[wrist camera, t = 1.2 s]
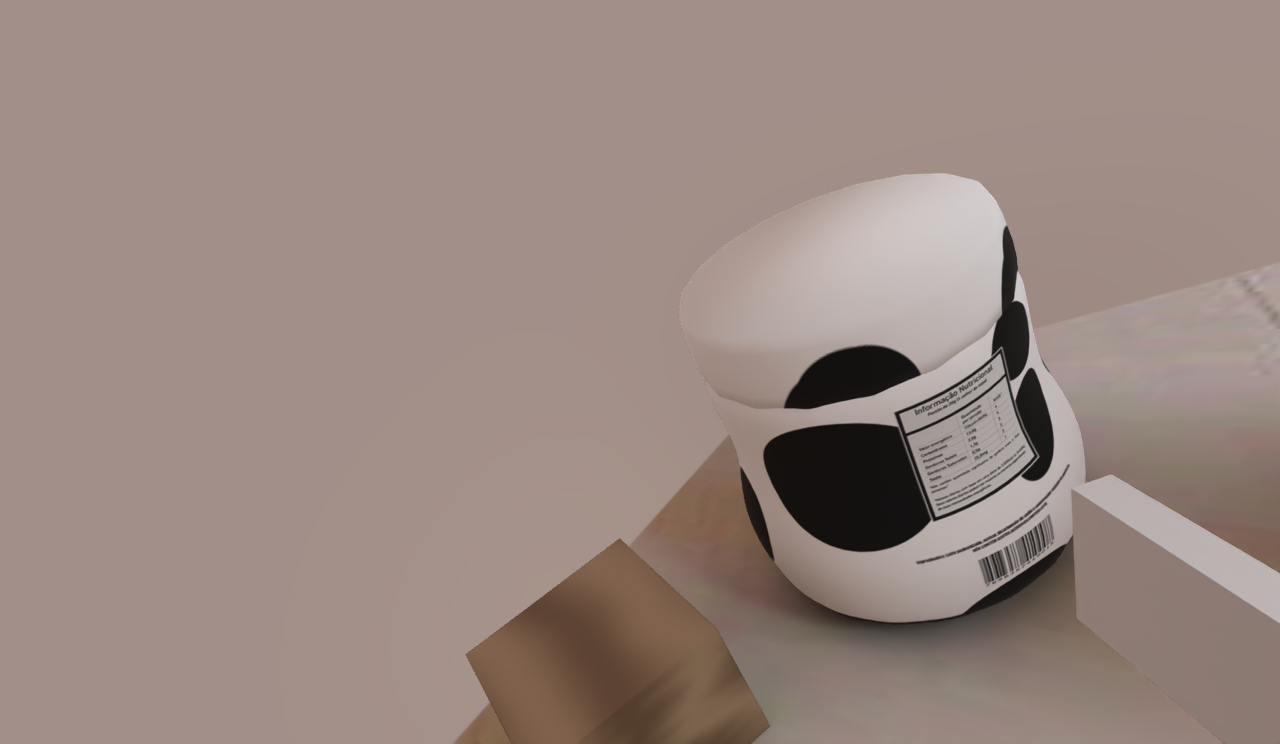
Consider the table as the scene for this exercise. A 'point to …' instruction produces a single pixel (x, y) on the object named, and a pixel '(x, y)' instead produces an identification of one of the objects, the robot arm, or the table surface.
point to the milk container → (888, 399)
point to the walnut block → (615, 665)
